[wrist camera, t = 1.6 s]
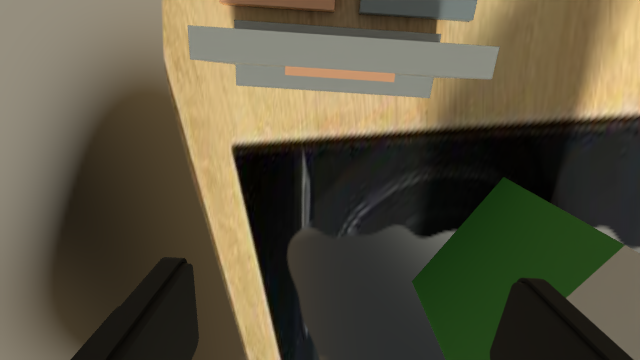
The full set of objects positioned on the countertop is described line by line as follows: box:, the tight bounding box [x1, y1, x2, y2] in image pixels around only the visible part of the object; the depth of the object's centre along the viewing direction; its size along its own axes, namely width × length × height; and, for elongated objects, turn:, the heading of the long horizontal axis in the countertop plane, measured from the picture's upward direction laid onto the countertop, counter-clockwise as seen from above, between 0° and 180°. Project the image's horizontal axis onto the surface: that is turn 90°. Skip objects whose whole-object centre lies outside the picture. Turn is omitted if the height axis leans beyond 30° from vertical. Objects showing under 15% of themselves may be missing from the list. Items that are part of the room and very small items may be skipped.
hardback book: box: [412, 177, 640, 360], centre depth 27 cm, size 18×7×24 cm, turn 148°
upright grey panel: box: [188, 20, 499, 98], centre depth 25 cm, size 20×6×12 cm, turn 86°
